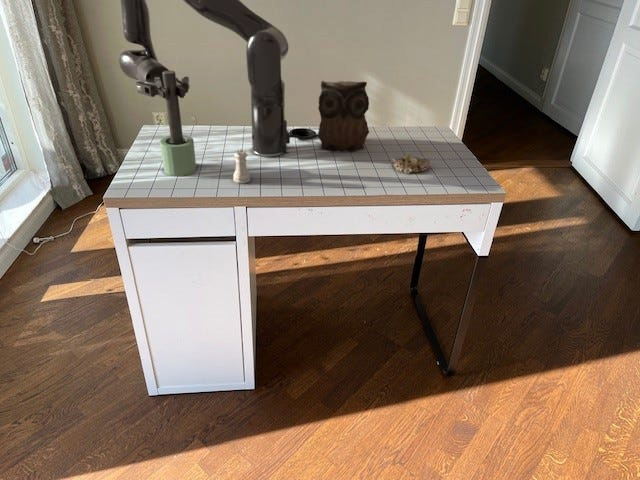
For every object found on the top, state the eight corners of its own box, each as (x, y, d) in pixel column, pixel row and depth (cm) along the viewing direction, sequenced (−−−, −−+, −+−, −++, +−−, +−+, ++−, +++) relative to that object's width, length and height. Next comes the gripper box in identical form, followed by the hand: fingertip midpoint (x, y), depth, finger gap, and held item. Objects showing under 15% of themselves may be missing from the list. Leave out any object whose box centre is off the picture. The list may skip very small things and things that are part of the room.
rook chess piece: (247, 185, 124) (246, 155, 119) (230, 183, 124) (228, 153, 120) (252, 178, 127) (252, 149, 123) (236, 175, 128) (235, 147, 124)
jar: (193, 161, 134) (190, 133, 130) (198, 173, 128) (195, 145, 124) (162, 164, 132) (158, 136, 127) (166, 177, 125) (162, 148, 121)
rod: (184, 140, 128) (176, 69, 118) (186, 145, 125) (178, 73, 115) (168, 141, 127) (159, 70, 117) (170, 147, 124) (160, 74, 114)
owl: (368, 148, 148) (376, 81, 137) (339, 158, 141) (345, 88, 130) (339, 136, 156) (343, 71, 145) (310, 145, 148) (312, 78, 137)
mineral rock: (397, 167, 132) (391, 148, 137) (393, 179, 135) (388, 160, 140) (435, 168, 133) (428, 149, 138) (430, 180, 136) (424, 161, 142)
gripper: (124, 64, 124) (142, 81, 111) (179, 59, 130) (201, 75, 118) (129, 94, 128) (147, 114, 115) (182, 88, 134) (204, 106, 122)
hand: (174, 94), depth 117 cm, fingers closed on rod, 3 cm apart
